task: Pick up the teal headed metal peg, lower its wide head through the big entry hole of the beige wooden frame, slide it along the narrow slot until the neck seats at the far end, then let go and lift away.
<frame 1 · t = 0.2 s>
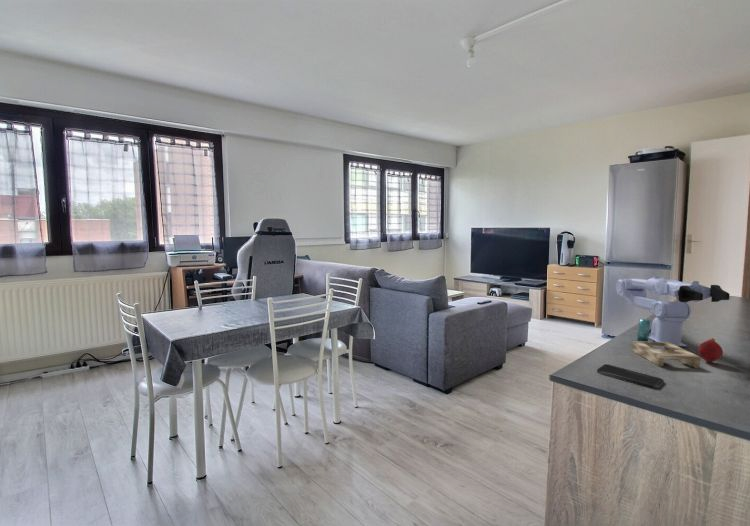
hand: (714, 296, 122), 21 cm above the countertop, tool horizontal, fingers open, 7 cm apart
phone: (629, 378, 111), on the countertop
beige wooden frame: (663, 358, 126), on the countertop
peg: (642, 347, 138), on the countertop
onion: (708, 362, 124), on the countertop
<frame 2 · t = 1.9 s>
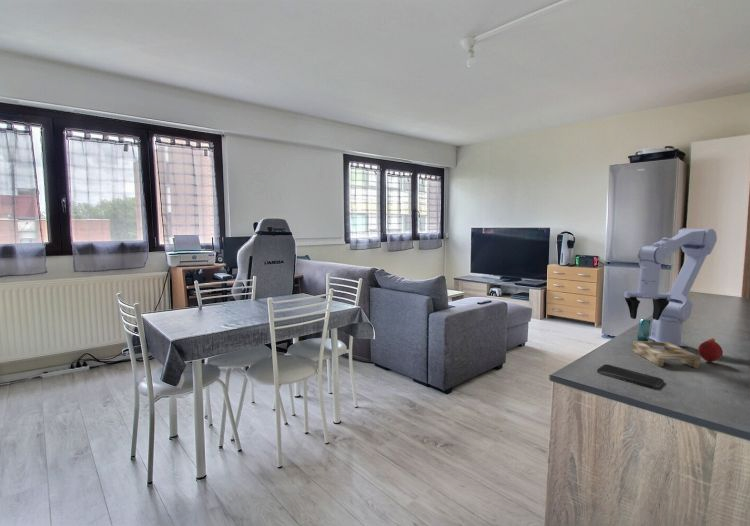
hand: (644, 318, 136), 10 cm above the countertop, tool pointing down, fingers open, 7 cm apart
nothing on the countertop moved.
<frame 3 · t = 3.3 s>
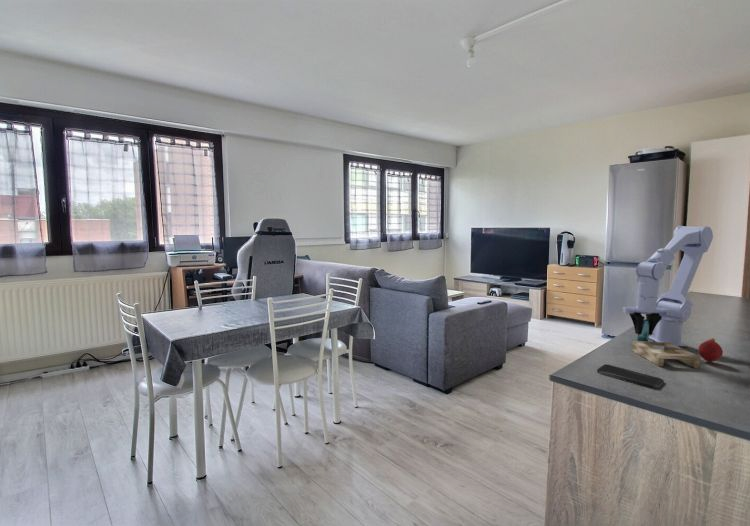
hand: (643, 333, 137), 5 cm above the countertop, tool pointing down, fingers closed on peg, 3 cm apart
peg: (642, 347, 138), on the countertop, touching gripper
everything else where it was.
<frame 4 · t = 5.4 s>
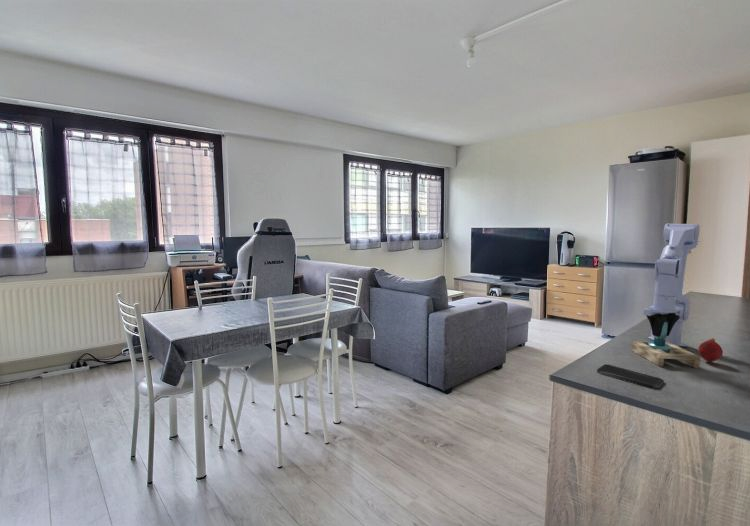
hand: (660, 335, 128), 7 cm above the countertop, tool pointing down, fingers closed on peg, 3 cm apart
peg: (658, 349, 129), point 2 cm above the countertop, touching gripper
everything else where it was.
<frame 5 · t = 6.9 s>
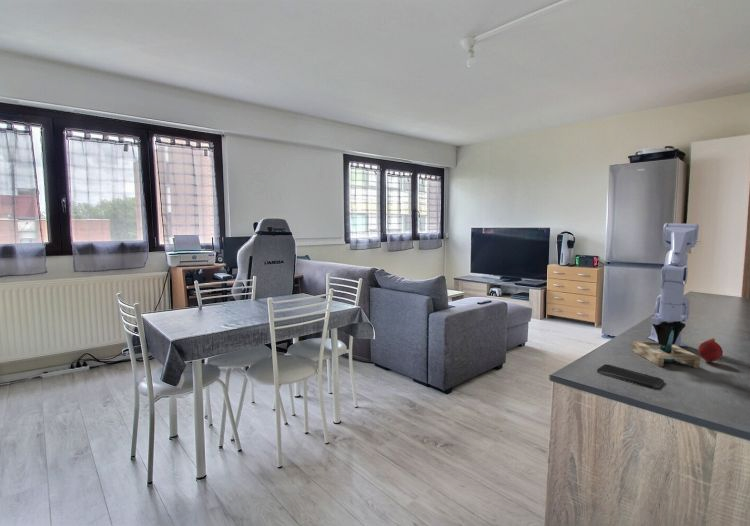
hand: (666, 344, 125), 5 cm above the countertop, tool pointing down, fingers closed on peg, 3 cm apart
peg: (663, 358, 126), on the countertop, touching gripper
everything else where it was.
when the fingers open (5 cm above the countertop, at t = 7.8 s): peg stays where it is, on the countertop.
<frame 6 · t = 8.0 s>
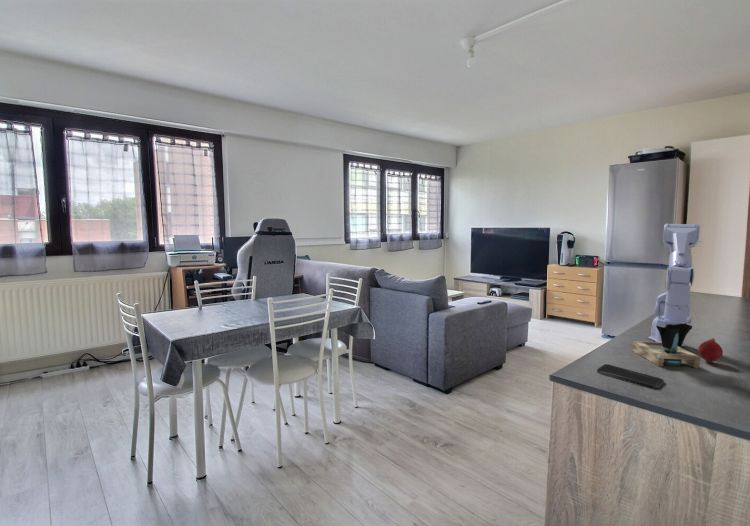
hand: (671, 347, 123), 5 cm above the countertop, tool pointing down, fingers open, 5 cm apart
peg: (669, 362, 123), on the countertop
everything else where it was.
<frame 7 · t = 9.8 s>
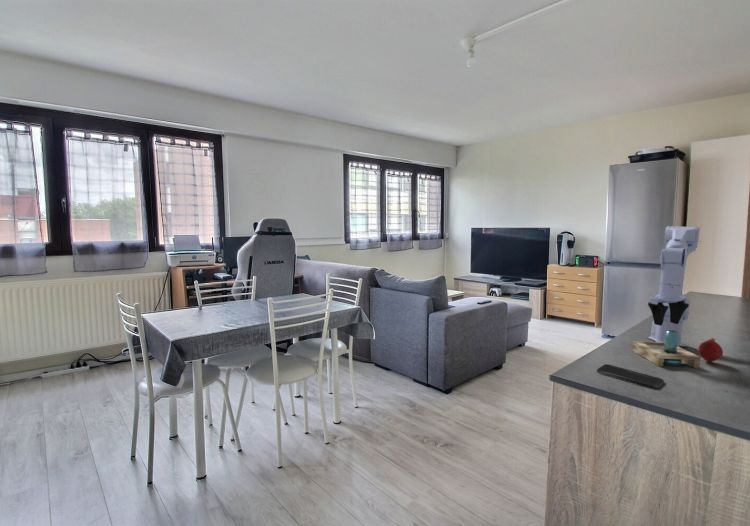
hand: (666, 324, 130), 10 cm above the countertop, tool pointing down, fingers open, 7 cm apart
nothing on the countertop moved.
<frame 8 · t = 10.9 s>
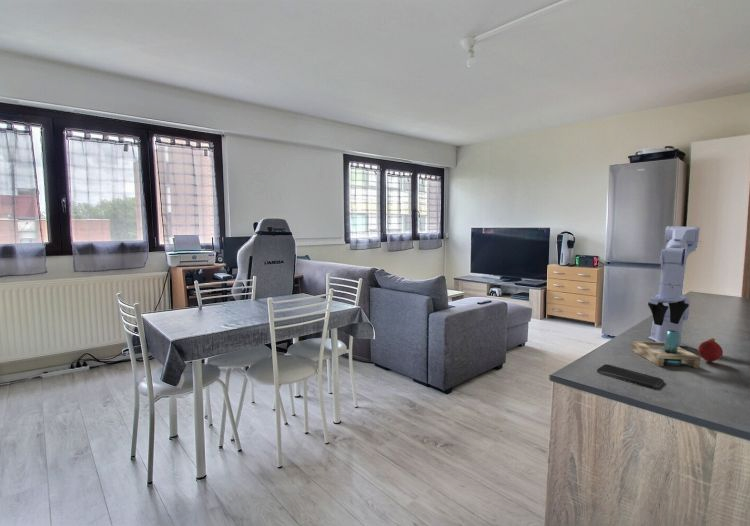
hand: (666, 324, 130), 10 cm above the countertop, tool pointing down, fingers open, 7 cm apart
nothing on the countertop moved.
at the end: peg 0.2 cm from the target spot on the beige wooden frame, point 0.0 cm above the beige wooden frame's base; peg tilted 1°; the gripper is holding nothing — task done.
